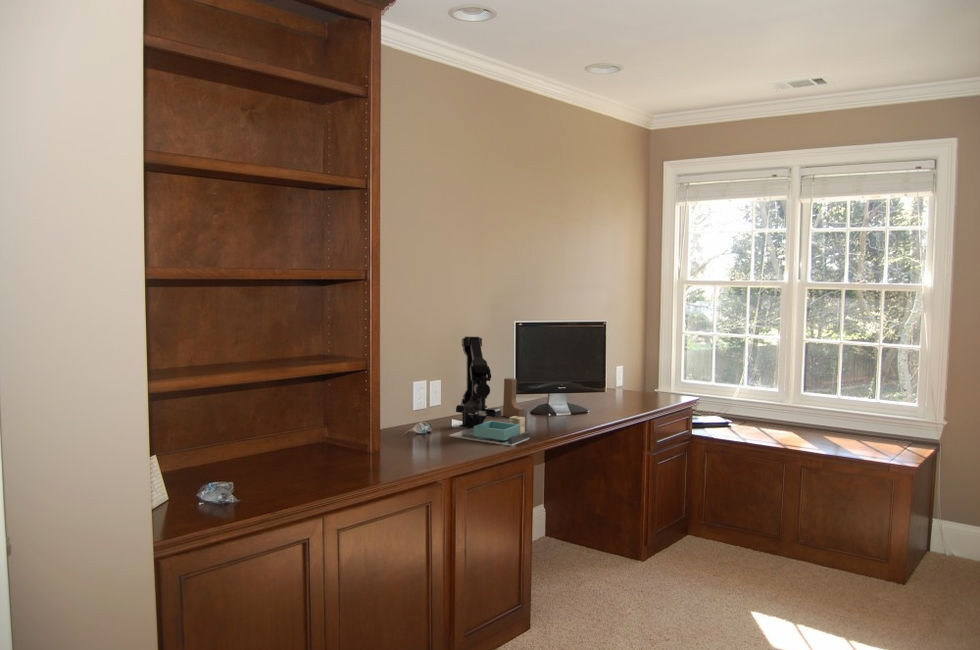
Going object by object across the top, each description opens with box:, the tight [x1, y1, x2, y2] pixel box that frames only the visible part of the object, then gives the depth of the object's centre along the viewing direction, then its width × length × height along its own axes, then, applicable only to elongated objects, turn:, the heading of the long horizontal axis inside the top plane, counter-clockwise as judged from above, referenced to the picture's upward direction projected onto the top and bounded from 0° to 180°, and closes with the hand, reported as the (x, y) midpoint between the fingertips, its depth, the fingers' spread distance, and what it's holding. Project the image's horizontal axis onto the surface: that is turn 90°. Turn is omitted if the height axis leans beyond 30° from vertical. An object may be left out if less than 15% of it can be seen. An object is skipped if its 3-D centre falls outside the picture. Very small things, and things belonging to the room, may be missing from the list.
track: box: [448, 428, 531, 447], centre depth 312 cm, size 29×16×3 cm, turn 61°
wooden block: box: [502, 377, 525, 418], centre depth 360 cm, size 9×4×18 cm, turn 56°
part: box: [508, 416, 526, 434], centre depth 321 cm, size 5×5×7 cm
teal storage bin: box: [473, 420, 520, 441], centre depth 310 cm, size 14×14×5 cm
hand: (477, 431), depth 314 cm, fingers closed
